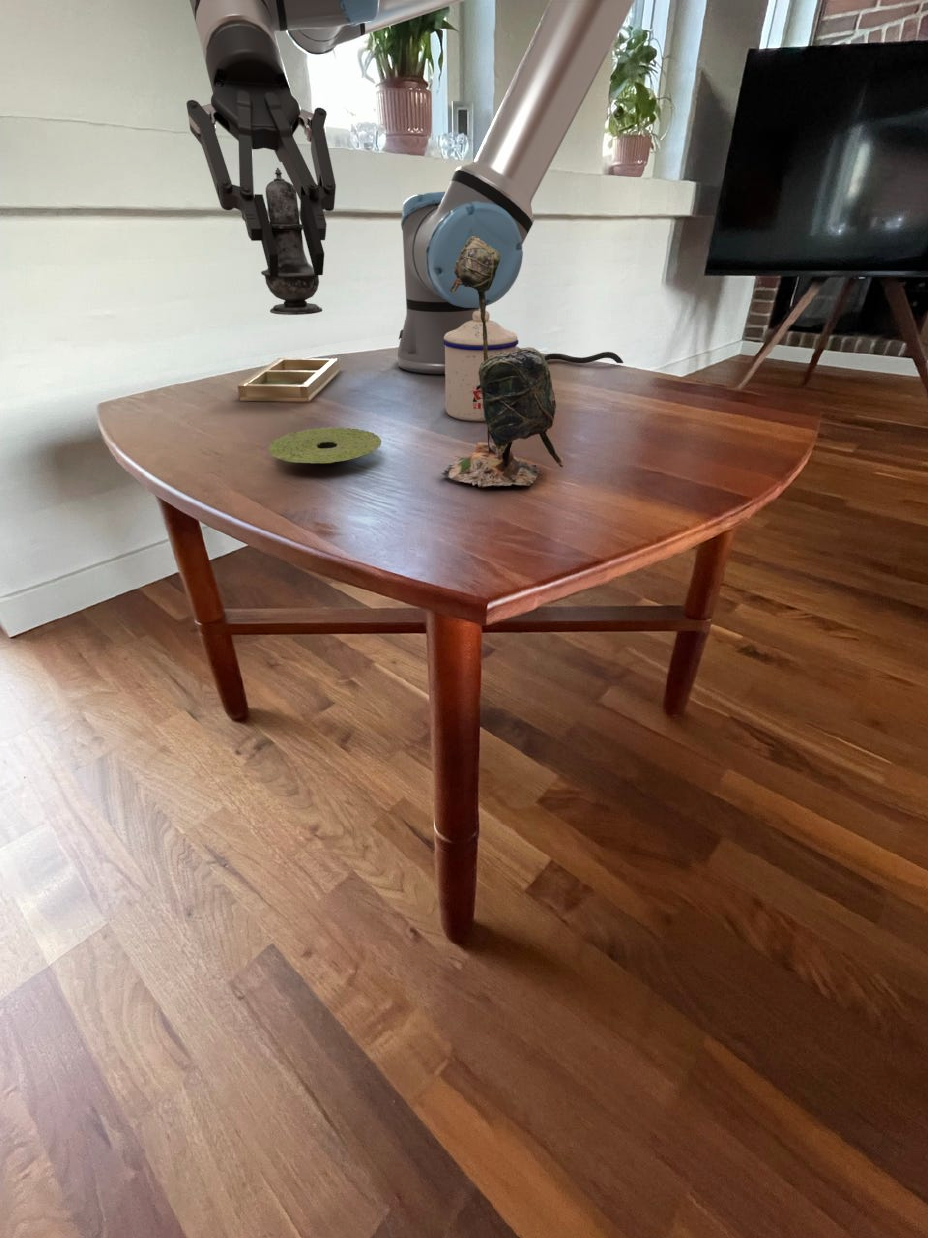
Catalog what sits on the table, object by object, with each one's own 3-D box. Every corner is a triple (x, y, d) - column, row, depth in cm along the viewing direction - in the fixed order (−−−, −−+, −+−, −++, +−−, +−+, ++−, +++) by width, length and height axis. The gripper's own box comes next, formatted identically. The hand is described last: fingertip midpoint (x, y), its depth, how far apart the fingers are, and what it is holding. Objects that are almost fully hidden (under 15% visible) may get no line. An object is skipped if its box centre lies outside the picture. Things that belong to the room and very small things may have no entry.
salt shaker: (306, 305, 67) (289, 169, 60) (336, 311, 64) (322, 167, 57) (256, 310, 64) (233, 167, 57) (285, 316, 60) (264, 165, 54)
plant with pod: (531, 507, 54) (549, 239, 43) (429, 479, 59) (422, 235, 48) (574, 479, 59) (599, 235, 48) (477, 456, 65) (479, 232, 54)
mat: (304, 491, 57) (301, 470, 56) (253, 459, 64) (250, 440, 63) (404, 463, 63) (402, 445, 62) (347, 437, 70) (345, 420, 69)
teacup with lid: (477, 427, 73) (478, 319, 67) (429, 411, 79) (426, 310, 72) (545, 409, 80) (552, 309, 73) (496, 395, 85) (499, 302, 79)
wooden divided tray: (339, 371, 98) (337, 358, 97) (309, 401, 83) (307, 386, 82) (280, 371, 98) (278, 357, 97) (240, 400, 83) (237, 385, 82)
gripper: (324, 104, 68) (376, 290, 64) (161, 95, 62) (208, 297, 59) (329, 28, 61) (388, 232, 57) (146, 10, 55) (198, 233, 52)
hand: (296, 264), depth 58 cm, fingers closed on salt shaker, 4 cm apart
